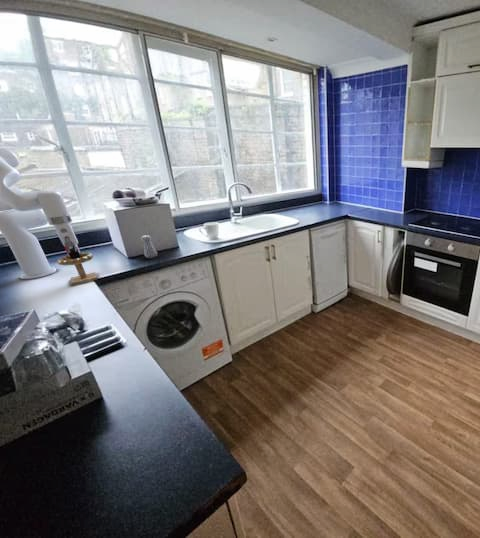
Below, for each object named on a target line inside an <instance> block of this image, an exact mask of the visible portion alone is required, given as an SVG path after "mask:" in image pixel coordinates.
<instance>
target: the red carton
mask: <svg viewBox="0 0 480 538" xmlns="http://www.w3.org/2000/svg"><path fill="white" fill-rule="evenodd" d="M78 245H79V244H75V246H76V248H77V249H78V252H79V253H82V252H81V250H80V248H79V246H78ZM63 247H64V250H65V251H66V254H67V256H68V255H69V253H68V252H69V251H68V249H67V247H66V246H64V245H63Z"/></svg>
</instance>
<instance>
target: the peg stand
mask: <svg viewBox="0 0 480 538" xmlns="http://www.w3.org/2000/svg"><path fill="white" fill-rule="evenodd" d="M74 267H75V269H76V272H77V274H78V275H75V276H72V277H70V284H71V286H72V287H73V286H77V285H80V284H85V283H89V282H93V281H97V280H99V279H98V276H97V273H96V271H95V272H90V273H86V270H85V268H84V266H83V263H80V264H75V265H74Z"/></svg>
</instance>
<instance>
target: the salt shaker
mask: <svg viewBox="0 0 480 538" xmlns="http://www.w3.org/2000/svg"><path fill="white" fill-rule="evenodd" d="M140 240H141V242H143V250H144V251H143V252H144V253H143V255H144V257H145V258H146V259H153V258H156V257H157V256H158V252H157V250H156V248H155V247H154V245H153V243H152V241H151V240H152V237H151V235H142V236H141V237H140Z"/></svg>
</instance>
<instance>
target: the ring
mask: <svg viewBox="0 0 480 538" xmlns="http://www.w3.org/2000/svg"><path fill="white" fill-rule="evenodd" d="M79 255H80V257H81V258H77V259H72V260H71V257H70V255H68V254H67V255H65V256H62V257H60V258H58V259H57V264H58V265H60V266H75V264H80V263H82V264H83V263H86V262H89V261H91V260H93V259H94V255H93V253H91V252H81V253H79Z"/></svg>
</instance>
